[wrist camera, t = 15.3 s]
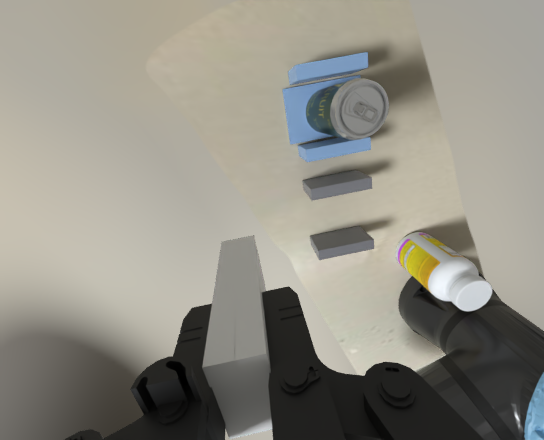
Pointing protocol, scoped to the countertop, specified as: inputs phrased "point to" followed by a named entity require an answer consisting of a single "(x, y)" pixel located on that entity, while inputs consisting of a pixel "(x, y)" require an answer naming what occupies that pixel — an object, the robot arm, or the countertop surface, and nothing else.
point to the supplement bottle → (443, 271)
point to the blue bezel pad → (304, 110)
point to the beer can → (348, 109)
